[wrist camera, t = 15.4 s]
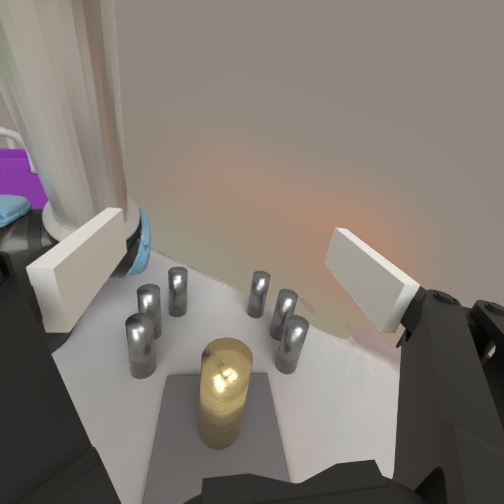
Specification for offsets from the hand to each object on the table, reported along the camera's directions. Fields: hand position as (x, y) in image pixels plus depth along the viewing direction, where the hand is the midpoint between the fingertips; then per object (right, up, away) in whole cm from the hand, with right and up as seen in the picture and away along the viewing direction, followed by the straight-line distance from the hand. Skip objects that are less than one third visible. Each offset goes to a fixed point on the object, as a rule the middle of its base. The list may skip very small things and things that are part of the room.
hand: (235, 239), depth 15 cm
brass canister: (-3, -24, +17) cm, 30 cm away
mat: (-3, -25, +17) cm, 30 cm away
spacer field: (-5, -18, +31) cm, 36 cm away
